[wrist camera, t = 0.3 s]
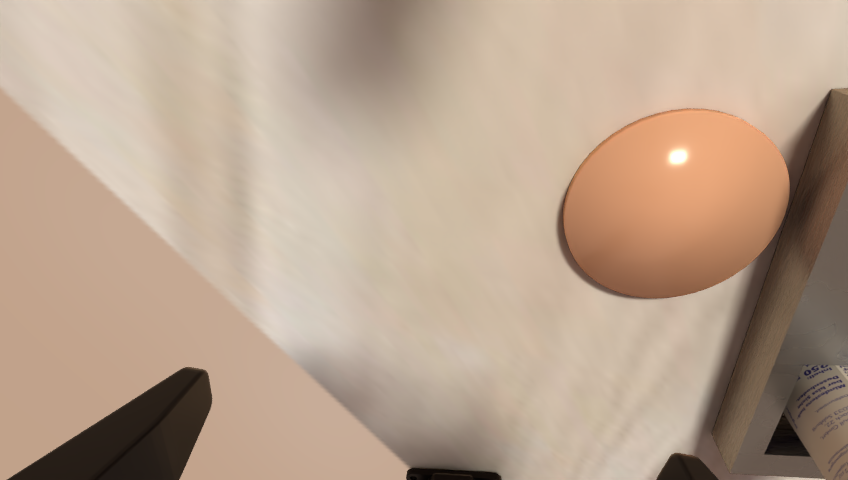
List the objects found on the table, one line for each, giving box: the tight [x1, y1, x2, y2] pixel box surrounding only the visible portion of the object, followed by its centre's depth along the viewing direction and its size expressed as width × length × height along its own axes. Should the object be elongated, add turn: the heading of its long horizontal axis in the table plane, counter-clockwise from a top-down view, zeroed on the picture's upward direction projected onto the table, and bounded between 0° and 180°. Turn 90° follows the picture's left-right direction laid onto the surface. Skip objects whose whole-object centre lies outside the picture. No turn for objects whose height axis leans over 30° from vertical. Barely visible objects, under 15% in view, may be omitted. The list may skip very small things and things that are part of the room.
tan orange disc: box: [563, 109, 790, 298], centre depth 21 cm, size 9×9×1 cm
